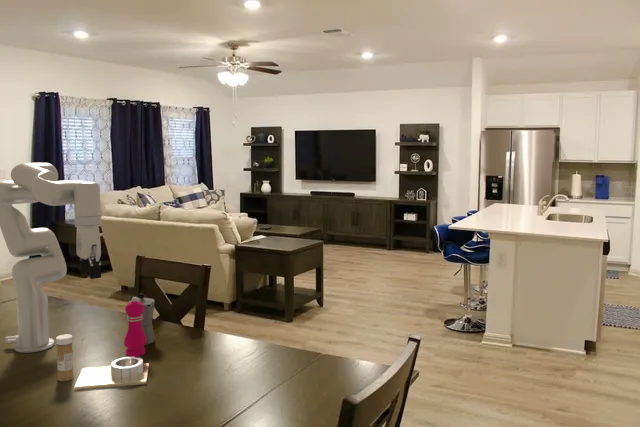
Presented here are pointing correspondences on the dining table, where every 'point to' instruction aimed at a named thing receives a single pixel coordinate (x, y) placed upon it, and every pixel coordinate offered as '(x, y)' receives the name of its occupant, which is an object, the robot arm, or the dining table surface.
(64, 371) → the sprinkles bottle
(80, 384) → the white ring holder board
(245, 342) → the dining table surface
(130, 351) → the pepper mill
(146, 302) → the coffeepot
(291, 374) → the dining table surface
